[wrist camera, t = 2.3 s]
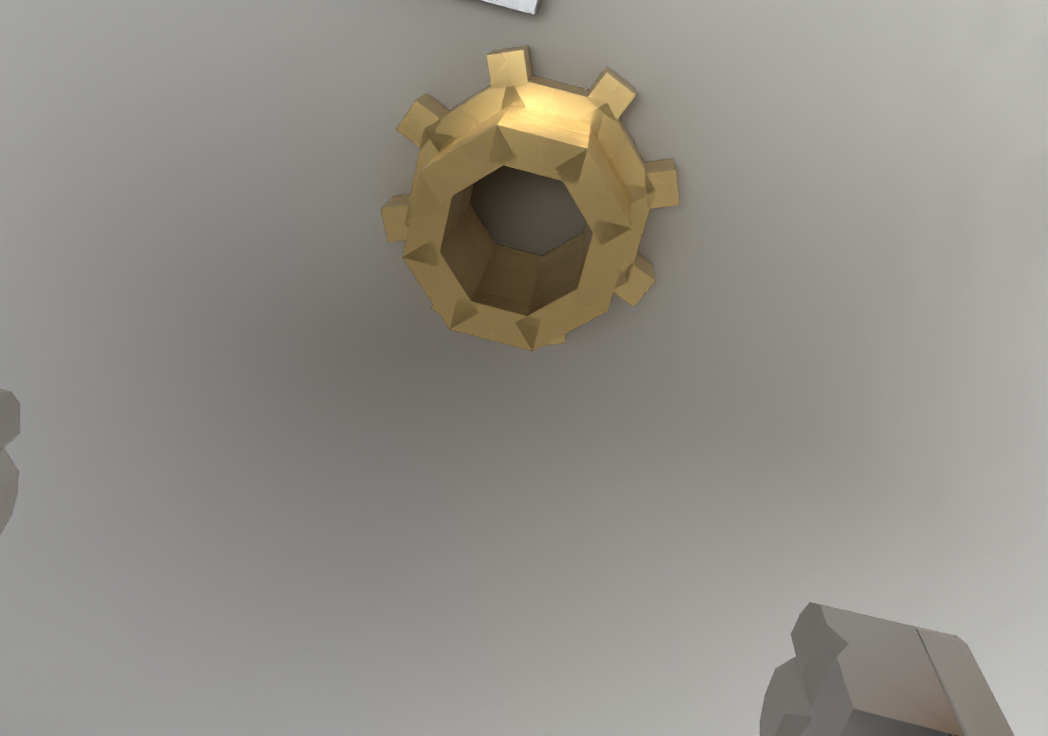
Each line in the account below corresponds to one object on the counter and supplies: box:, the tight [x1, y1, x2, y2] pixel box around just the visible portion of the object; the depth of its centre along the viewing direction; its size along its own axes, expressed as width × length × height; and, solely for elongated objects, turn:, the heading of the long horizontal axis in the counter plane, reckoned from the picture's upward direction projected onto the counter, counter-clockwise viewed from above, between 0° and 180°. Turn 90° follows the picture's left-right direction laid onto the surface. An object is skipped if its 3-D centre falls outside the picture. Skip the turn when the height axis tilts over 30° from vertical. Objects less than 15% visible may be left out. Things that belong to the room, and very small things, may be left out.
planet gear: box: [381, 45, 679, 351], centre depth 24 cm, size 7×7×5 cm
